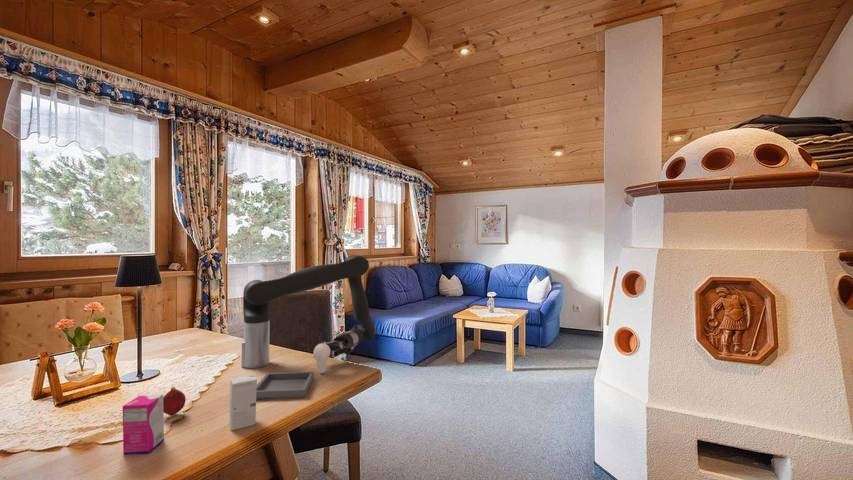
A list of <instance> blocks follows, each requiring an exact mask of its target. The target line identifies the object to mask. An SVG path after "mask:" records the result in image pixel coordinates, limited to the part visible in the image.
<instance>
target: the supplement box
mask: <svg viewBox="0 0 853 480" xmlns="http://www.w3.org/2000/svg"><path fill="white" fill-rule="evenodd" d="M163 397H164V394H148V395H147V394H146V395H144V394H143V395H138V396H137V397H135V398H133V399H132V400H130V401H129V402H127V403H126V404H124V405H122V445H123V446H122V447H123V449H122V452H123V453H122V454H123V455H125V456H126V455H127V456H128V455H149V454H150V453H151V452H153V451H154V450H155V449H156V448H158V446H159V445H160V444H162V443H163V442H164V441H165V432H164V431H165V430H164V429H165V424H164V421H165V419H164V415H165V413H164V412H163Z"/></svg>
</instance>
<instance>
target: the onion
mask: <svg viewBox="0 0 853 480" xmlns="http://www.w3.org/2000/svg"><path fill="white" fill-rule="evenodd" d="M185 405H186V395H185V394H184V393H183V392H182V391H181V390H179V389H177V388H176V387H175V386H171V388H170V390H169V391H168V392H167V393H165V395H163V412H164V414H165V415H168V416H171V417H174V416H176V414H178V413H179V412H180V411H181V410H182V409H183V408H184V406H185ZM173 415H174V416H173Z"/></svg>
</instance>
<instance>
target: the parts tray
mask: <svg viewBox="0 0 853 480" xmlns="http://www.w3.org/2000/svg"><path fill="white" fill-rule="evenodd" d="M314 375H315V372H314V371H293V372H292V371H291V372H289V371H288V372H267V373H265V375H264V376H263V378H261V380H260V381H259V382H257V389H256V401H262V400H286V399H305V398H306V396H307V393H308V392H309V390H310V387H311V385H312V383H313V381H314V379H315V376H314Z"/></svg>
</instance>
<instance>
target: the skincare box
mask: <svg viewBox="0 0 853 480" xmlns="http://www.w3.org/2000/svg"><path fill="white" fill-rule="evenodd" d="M229 382H230V385H229V387H230V388H229V410H228V413H229V414H228V417H229V418H228V425H229V426H228V427H229V428H230V430H231V431H234V430H238V429H243V428H246V427H247V428H248V427H250V426H251V427H252V426H254V425H256V418H257V417H256V416H257V412H256V411H257V400H256V389H257V384H258V382H257V378H256V377H255V375H246V376H240V377H235V378H230V381H229Z"/></svg>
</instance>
